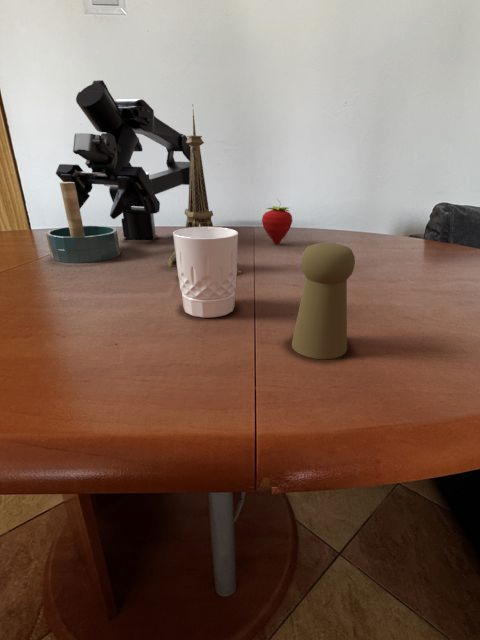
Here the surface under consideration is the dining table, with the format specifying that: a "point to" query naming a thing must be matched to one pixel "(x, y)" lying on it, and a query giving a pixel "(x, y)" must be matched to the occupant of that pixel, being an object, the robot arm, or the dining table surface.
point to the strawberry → (277, 223)
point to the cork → (324, 301)
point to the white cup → (207, 269)
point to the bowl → (83, 244)
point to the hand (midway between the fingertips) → (91, 216)
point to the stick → (72, 209)
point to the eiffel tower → (196, 192)
